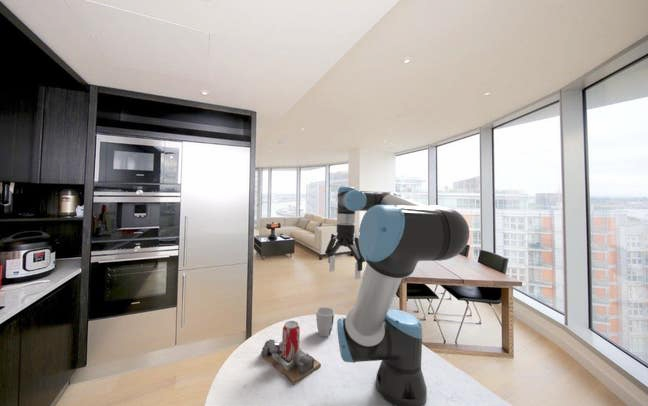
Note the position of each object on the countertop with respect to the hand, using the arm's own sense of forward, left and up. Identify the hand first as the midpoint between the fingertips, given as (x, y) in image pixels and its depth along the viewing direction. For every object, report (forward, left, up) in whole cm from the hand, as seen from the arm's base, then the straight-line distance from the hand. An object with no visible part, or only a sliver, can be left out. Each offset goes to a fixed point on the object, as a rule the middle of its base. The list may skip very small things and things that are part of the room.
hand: (344, 274), depth 96 cm
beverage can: (+6, +22, -27) cm, 36 cm away
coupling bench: (+6, +23, -28) cm, 37 cm away
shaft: (+12, +26, -27) cm, 39 cm away
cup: (+10, +1, -29) cm, 30 cm away
